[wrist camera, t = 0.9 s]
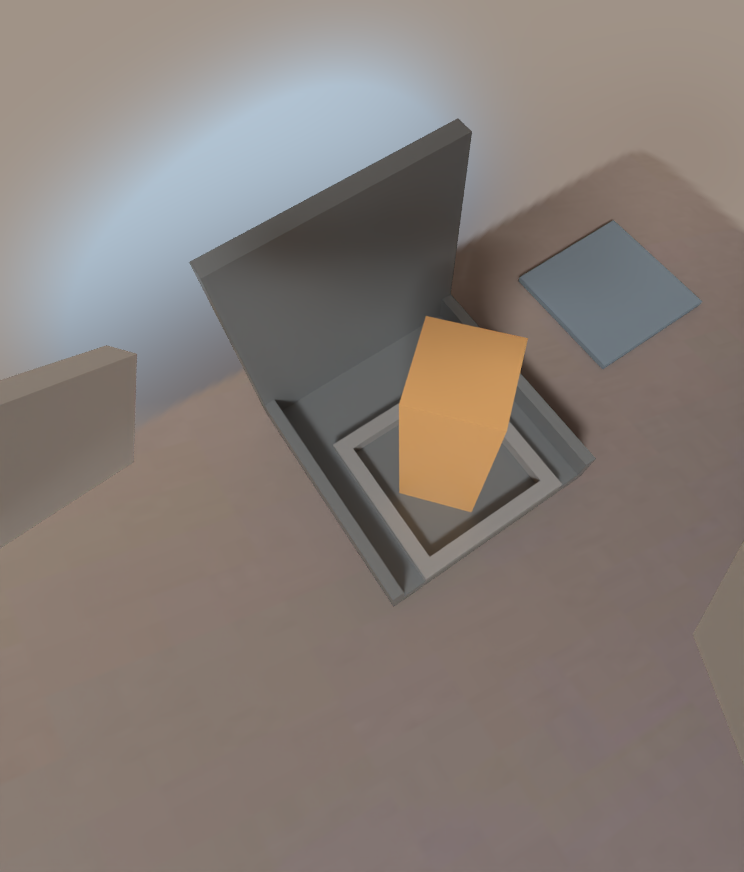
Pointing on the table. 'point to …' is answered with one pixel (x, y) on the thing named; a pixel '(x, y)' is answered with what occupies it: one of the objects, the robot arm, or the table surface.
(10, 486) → the robot arm
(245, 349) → the case
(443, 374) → the module
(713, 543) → the table surface
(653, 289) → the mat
